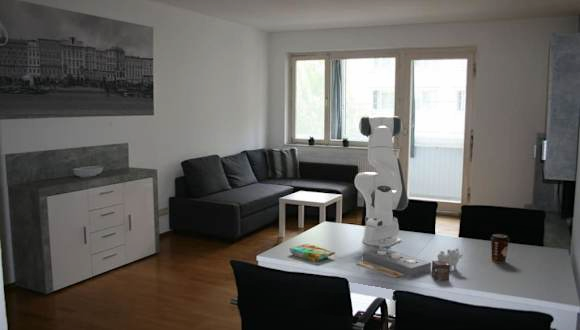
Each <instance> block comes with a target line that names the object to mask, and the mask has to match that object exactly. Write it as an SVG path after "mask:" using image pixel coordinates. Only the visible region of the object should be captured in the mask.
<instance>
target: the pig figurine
mask: <svg viewBox="0 0 580 330" xmlns="http://www.w3.org/2000/svg"><path fill="white" fill-rule="evenodd" d="M462 258H463V254H462V253H461V252H460V250H459V248H457V247H456V248H454V249H449V248H448V249H447V252H445V251H444V250H440V251H439V252H438V254H437V261H446V262H447V263H448V264H449V265H450V272H452V268H453V270H455V271H457V270H458V268H457V264H458V263H459V261H460V259H462Z"/></svg>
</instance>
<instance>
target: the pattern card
mask: <svg viewBox="0 0 580 330" xmlns="http://www.w3.org/2000/svg"><path fill="white" fill-rule="evenodd" d="M356 265H358V266H361V267H364V268H366V269H370V270H371V269H372V271H373V272H374V271H375V272H377V273H380V274H383V275H386V276H388V277H391V278H393V279H397V278H399V277H404V276H405V275H404V274H402V273H399V272H396V271H394V270H391V269H388V268H385V267H382V266H379V265H376V264H373V263H371V262H368V261H364V260H362V261H360V262H356Z"/></svg>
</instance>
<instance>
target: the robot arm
mask: <svg viewBox="0 0 580 330" xmlns="http://www.w3.org/2000/svg"><path fill="white" fill-rule="evenodd" d="M402 128H403V123H402V121H401V117H400V116H397V115H384V114H380V115H365V116H362V117H361V118H360V120H359V122H358V129H359V132H360V134H361V135H362V136H365V137H366V138H368V142H367V162H368V163H369V164H370V165H371V166H373V167H374V168H375V169H376V172H373V171H372V172H371V171H364V172H358V173H357V174H356V175H355V178H354V186H355V188H356V189H357V190H358V191H359V192H360V193H361V195H362V196H363V198H364V201H365V208H366V209H365V210H366V211H365V212H366V215H365V218H364V220H365V222H364V223H365V226H364V231H363V237H362V243H364V244H366V245H368V246H369V245H370V246H378V247H379V248H386V247H390V246H393V245H395V244H398V243H400V242H401V241H402V239H401V238H399V237H398V236H399V233H400V228H399V227H400V226H399V223H398V222H399V221H398V218H397V217H395V216H393V213H394V212H393V210H395V211H401V212H402V211H404V210H405V209H406V208H407V207H408V206H409V196H408V194H407V189H406V183H405V179H404V174H403V172H404V171H403V169H402V164H401V161H400V159H399V158H398V157H396V155H395V153H394V143H393V139H394V137H396V136H398V135H399V134H400V133H401V131H402Z"/></svg>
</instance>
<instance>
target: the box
mask: <svg viewBox="0 0 580 330" xmlns="http://www.w3.org/2000/svg"><path fill="white" fill-rule="evenodd" d="M450 272H451V271H450V265H449V264H448V263H447V262H446V261H438V260H431V277H432V278H433V280H435V281H436V282H442V281H443V282H444V281H445V282H446V281H447V282H448V281H450Z"/></svg>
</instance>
